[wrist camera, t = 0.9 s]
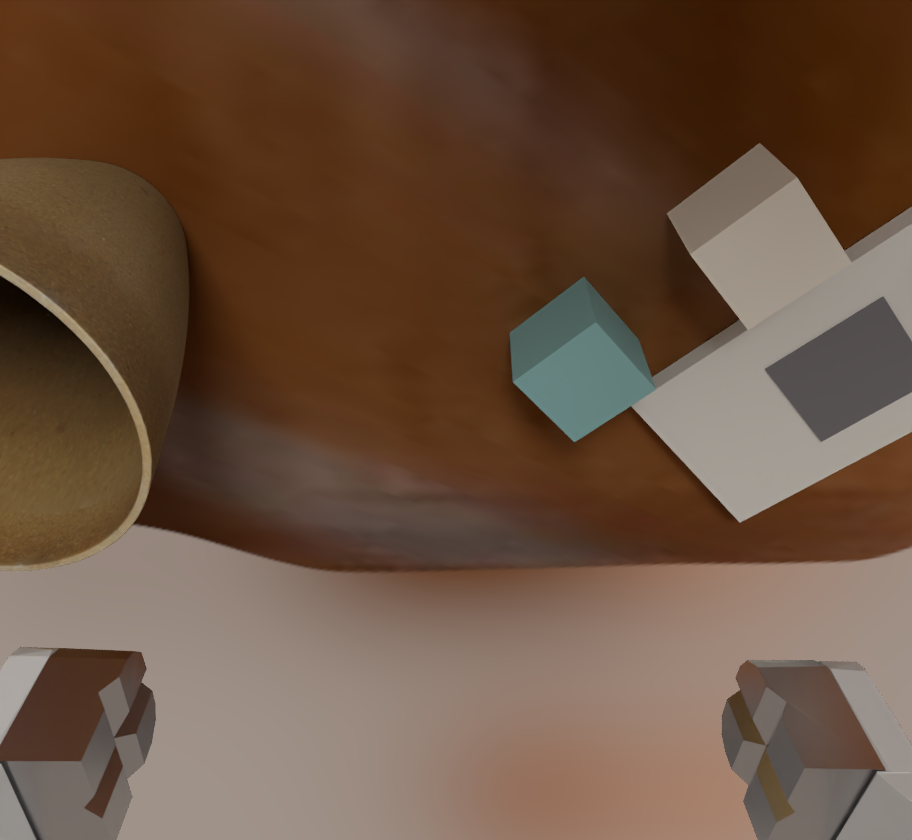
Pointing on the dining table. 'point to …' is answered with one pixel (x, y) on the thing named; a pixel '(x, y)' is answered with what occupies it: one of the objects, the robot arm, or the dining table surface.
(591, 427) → the teal block
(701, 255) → the off-white block
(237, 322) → the dining table surface
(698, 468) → the white flat board
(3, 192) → the plant pot
